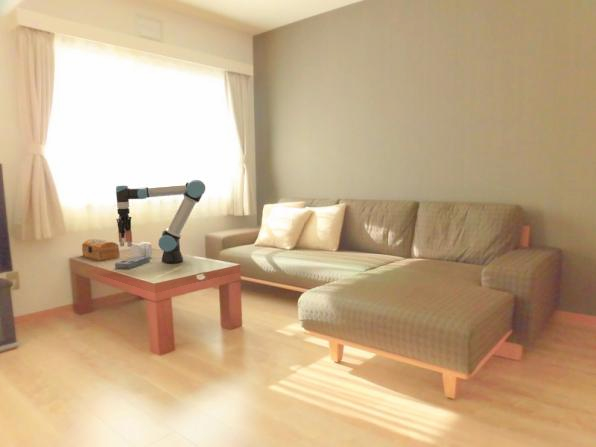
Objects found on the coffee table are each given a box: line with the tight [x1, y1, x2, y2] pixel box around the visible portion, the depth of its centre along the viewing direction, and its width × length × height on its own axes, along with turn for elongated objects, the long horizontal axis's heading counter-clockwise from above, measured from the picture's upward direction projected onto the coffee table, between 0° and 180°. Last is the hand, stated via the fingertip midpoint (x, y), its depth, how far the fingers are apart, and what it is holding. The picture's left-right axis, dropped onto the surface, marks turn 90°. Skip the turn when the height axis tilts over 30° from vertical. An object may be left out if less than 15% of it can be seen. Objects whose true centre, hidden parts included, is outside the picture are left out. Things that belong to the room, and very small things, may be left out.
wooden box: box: [81, 238, 120, 262], centre depth 322 cm, size 30×16×14 cm, turn 50°
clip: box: [117, 230, 133, 248], centre depth 285 cm, size 3×8×11 cm, turn 77°
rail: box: [114, 256, 151, 270], centre depth 293 cm, size 24×11×4 cm, turn 167°
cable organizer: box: [130, 241, 153, 258], centre depth 318 cm, size 15×11×12 cm
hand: (125, 242), depth 285 cm, fingers closed on clip, 3 cm apart
